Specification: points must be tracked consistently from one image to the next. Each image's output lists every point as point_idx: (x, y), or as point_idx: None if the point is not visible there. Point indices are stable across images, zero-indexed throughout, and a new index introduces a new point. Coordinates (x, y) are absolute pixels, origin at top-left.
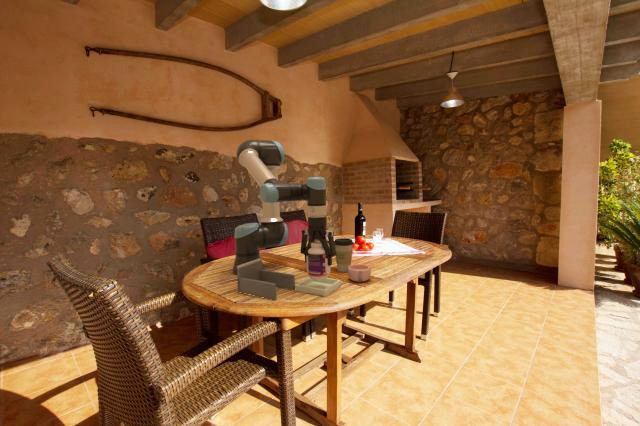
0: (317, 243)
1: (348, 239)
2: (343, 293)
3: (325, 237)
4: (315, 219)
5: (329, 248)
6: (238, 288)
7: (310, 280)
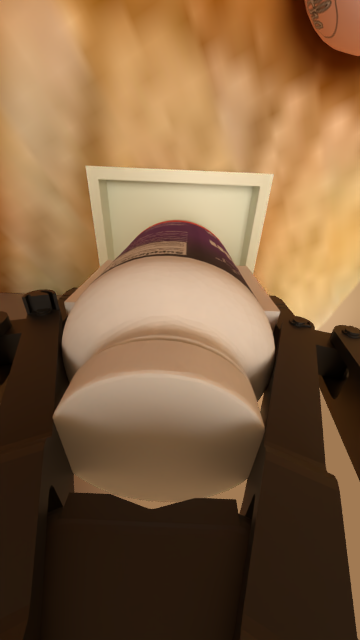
0: (187, 484)
1: None
2: (293, 263)
3: (336, 547)
4: None
5: (316, 371)
6: None
7: (106, 214)
